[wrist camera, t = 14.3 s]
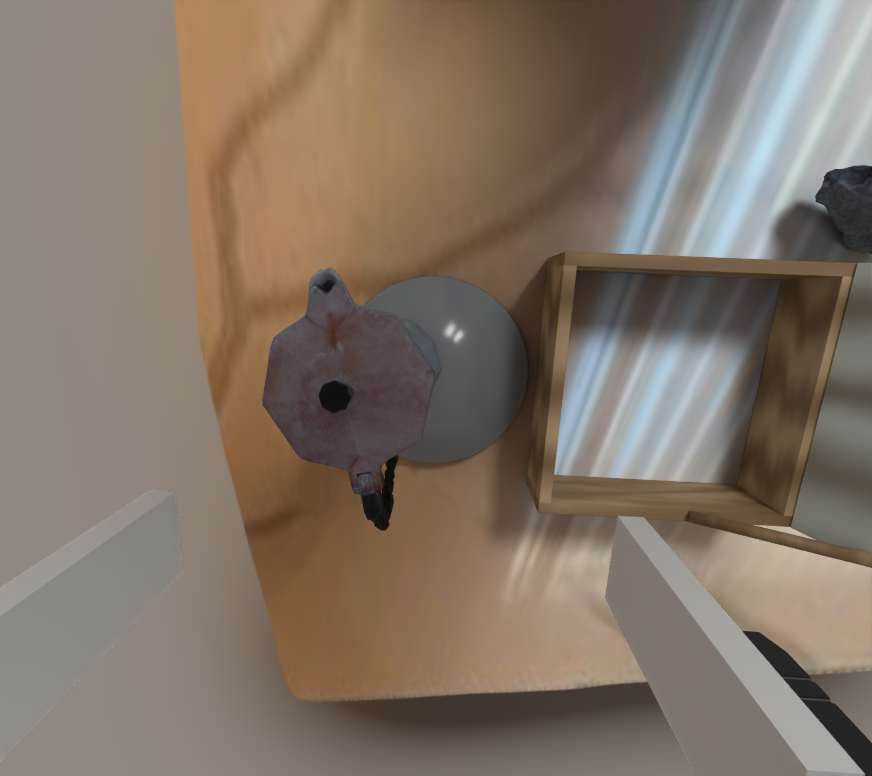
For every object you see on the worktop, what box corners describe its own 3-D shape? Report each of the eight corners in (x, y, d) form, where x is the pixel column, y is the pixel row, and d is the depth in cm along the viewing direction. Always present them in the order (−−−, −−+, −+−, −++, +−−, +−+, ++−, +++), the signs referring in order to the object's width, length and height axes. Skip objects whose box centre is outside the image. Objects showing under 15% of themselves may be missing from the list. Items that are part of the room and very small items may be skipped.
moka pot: (424, 272, 37) (392, 234, 18) (465, 431, 40) (477, 550, 21) (324, 299, 38) (189, 292, 19) (371, 454, 41) (296, 588, 21)
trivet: (340, 272, 39) (337, 272, 38) (534, 280, 38) (536, 280, 37) (341, 454, 43) (339, 458, 42) (518, 463, 42) (519, 467, 41)
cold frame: (547, 258, 38) (763, 176, 12) (885, 271, 37) (1938, 215, 11) (526, 482, 43) (644, 781, 16) (824, 498, 42) (1448, 840, 16)
